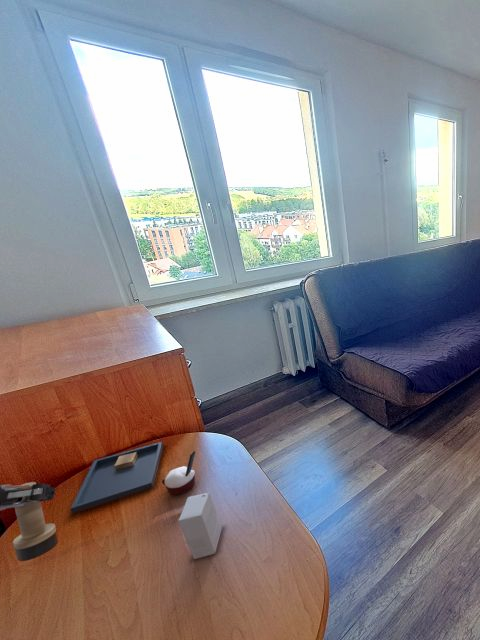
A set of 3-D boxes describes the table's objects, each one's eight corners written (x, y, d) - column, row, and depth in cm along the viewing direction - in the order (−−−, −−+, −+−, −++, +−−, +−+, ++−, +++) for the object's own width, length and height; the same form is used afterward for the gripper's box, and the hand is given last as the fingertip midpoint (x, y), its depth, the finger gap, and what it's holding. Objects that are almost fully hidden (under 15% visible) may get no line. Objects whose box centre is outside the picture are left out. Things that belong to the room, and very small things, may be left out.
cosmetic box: (201, 534, 76) (187, 496, 72) (222, 529, 77) (210, 491, 73) (192, 560, 71) (177, 521, 66) (215, 554, 72) (201, 515, 67)
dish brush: (11, 566, 59) (-6, 500, 58) (23, 548, 63) (8, 485, 62) (53, 551, 62) (39, 487, 61) (62, 535, 66) (49, 475, 65)
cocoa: (160, 493, 86) (146, 458, 82) (184, 475, 92) (172, 441, 87) (186, 505, 83) (172, 468, 79) (209, 485, 89) (197, 450, 84)
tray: (73, 515, 80) (70, 508, 80) (96, 466, 95) (94, 460, 94) (153, 489, 88) (151, 482, 87) (164, 447, 102) (162, 441, 101)
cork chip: (115, 470, 92) (114, 466, 92) (120, 460, 96) (119, 456, 95) (133, 465, 94) (132, 461, 94) (138, 455, 97) (136, 451, 97)
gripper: (6, 466, 52) (88, 468, 67) (-115, 485, 49) (0, 482, 64) (-10, 521, 49) (79, 509, 64) (-139, 544, 46) (-13, 526, 61)
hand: (39, 495), depth 64 cm, fingers closed on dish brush, 3 cm apart
